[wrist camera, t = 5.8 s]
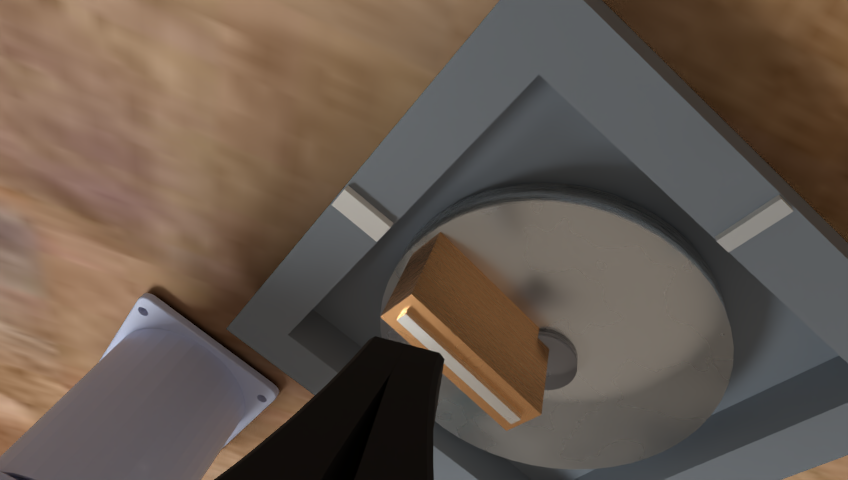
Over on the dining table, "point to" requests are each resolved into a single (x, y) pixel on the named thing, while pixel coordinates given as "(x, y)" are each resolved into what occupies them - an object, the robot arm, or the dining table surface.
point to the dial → (563, 325)
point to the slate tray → (608, 172)
